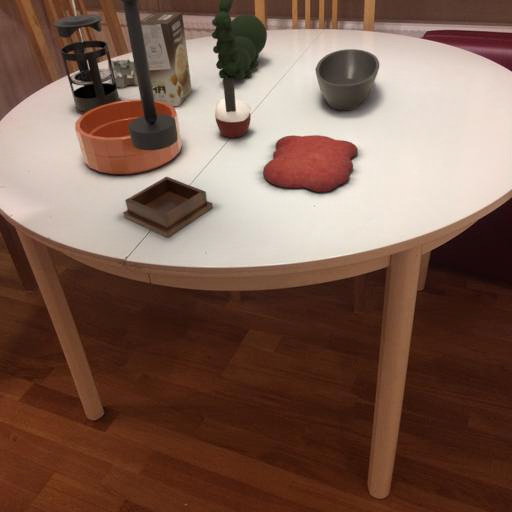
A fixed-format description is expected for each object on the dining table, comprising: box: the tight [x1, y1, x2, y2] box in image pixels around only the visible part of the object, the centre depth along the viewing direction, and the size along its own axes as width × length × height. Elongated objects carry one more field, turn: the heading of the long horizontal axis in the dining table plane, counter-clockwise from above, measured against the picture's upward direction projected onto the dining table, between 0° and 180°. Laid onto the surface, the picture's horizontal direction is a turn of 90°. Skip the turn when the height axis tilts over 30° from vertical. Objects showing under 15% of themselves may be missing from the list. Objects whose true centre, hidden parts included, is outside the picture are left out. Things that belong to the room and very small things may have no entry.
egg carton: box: [107, 58, 138, 89], centre depth 121 cm, size 11×8×4 cm
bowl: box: [315, 48, 380, 112], centre depth 104 cm, size 12×22×6 cm, turn 167°
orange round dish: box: [74, 98, 183, 175], centre depth 89 cm, size 17×17×6 cm
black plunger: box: [122, 0, 178, 150], centre depth 62 cm, size 6×6×22 cm
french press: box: [53, 0, 122, 115], centre depth 103 cm, size 12×9×23 cm
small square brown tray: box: [122, 176, 214, 238], centre depth 74 cm, size 9×9×3 cm
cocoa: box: [214, 77, 252, 139], centre depth 91 cm, size 10×6×12 cm, turn 158°
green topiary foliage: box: [211, 0, 268, 80], centre depth 117 cm, size 9×19×25 cm
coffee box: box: [140, 11, 193, 107], centre depth 106 cm, size 9×6×16 cm
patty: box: [262, 134, 358, 193], centre depth 84 cm, size 18×14×2 cm
